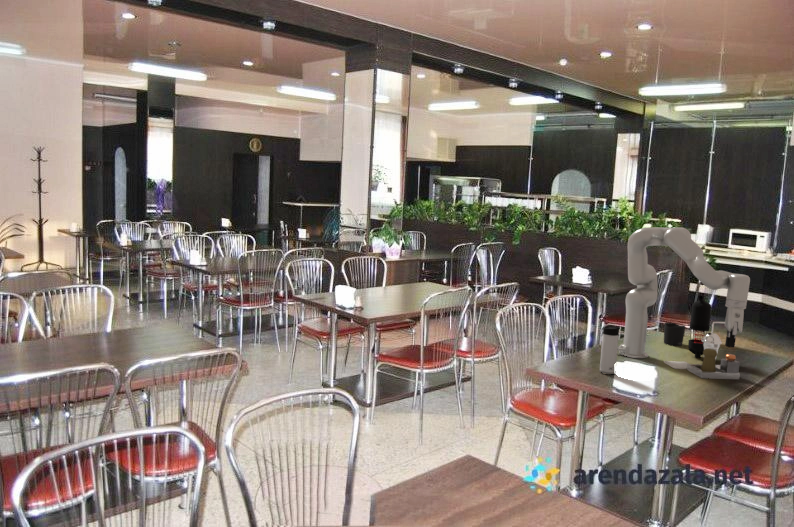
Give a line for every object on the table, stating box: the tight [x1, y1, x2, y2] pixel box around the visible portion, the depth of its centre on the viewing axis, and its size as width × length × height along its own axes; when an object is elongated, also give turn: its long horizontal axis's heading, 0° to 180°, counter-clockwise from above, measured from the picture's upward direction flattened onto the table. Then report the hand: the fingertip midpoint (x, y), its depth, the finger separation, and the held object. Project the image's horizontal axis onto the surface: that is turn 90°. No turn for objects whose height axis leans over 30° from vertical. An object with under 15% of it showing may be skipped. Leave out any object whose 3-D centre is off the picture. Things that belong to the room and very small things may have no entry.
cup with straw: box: [700, 321, 725, 362], centre depth 273 cm, size 8×9×20 cm
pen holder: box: [663, 322, 686, 347], centre depth 308 cm, size 9×9×10 cm
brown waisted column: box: [701, 349, 718, 372], centre depth 256 cm, size 6×6×11 cm
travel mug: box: [599, 325, 621, 375], centre depth 251 cm, size 6×7×20 cm
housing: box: [686, 358, 741, 380], centre depth 256 cm, size 16×12×7 cm
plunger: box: [725, 353, 737, 361], centre depth 253 cm, size 4×4×6 cm
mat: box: [663, 360, 690, 370], centre depth 268 cm, size 10×10×1 cm
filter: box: [688, 295, 712, 359], centre depth 283 cm, size 14×9×30 cm
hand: (729, 346), depth 253 cm, fingers closed
